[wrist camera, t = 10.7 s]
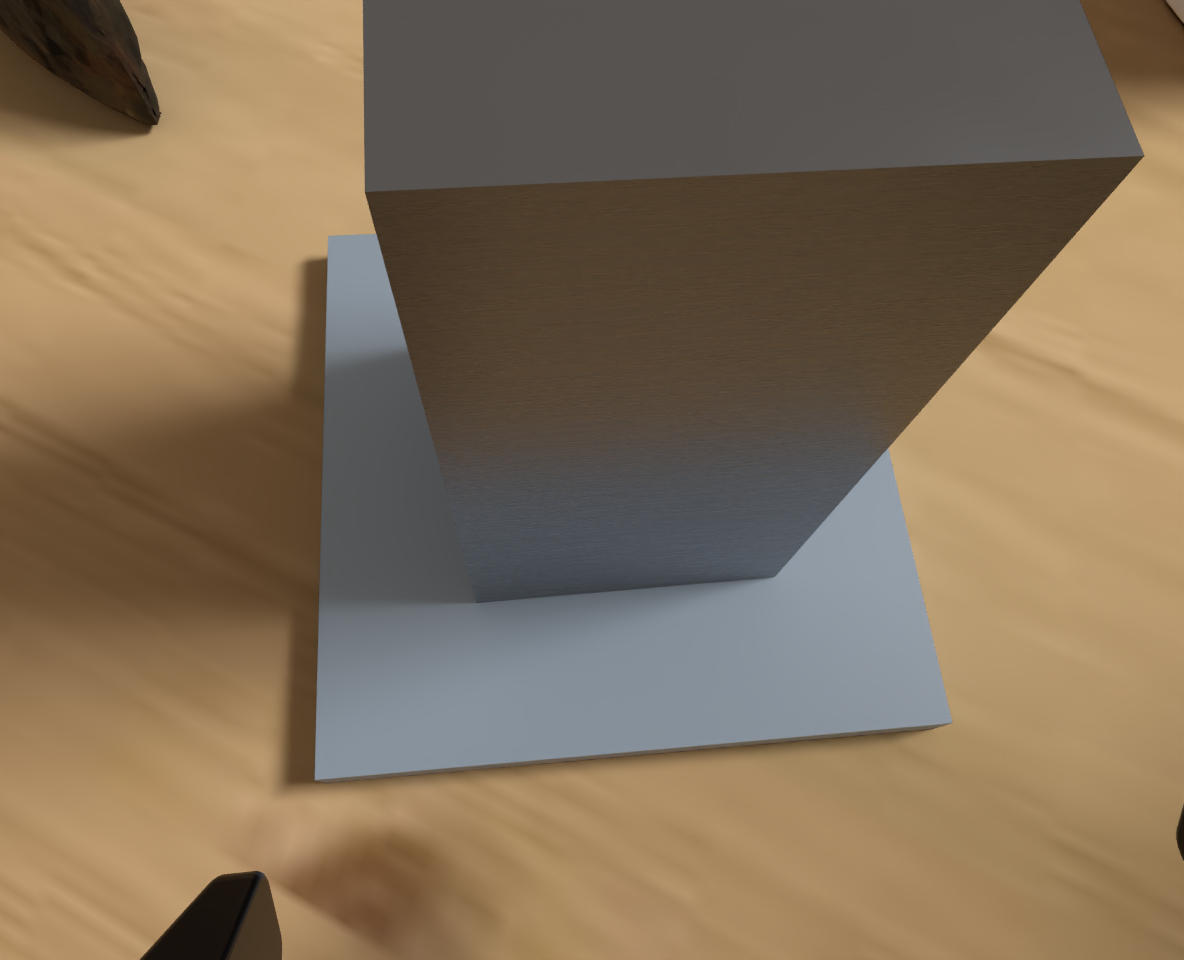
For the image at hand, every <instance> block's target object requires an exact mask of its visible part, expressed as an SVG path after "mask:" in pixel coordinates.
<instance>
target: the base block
mask: <svg viewBox="0 0 1184 960" xmlns="http://www.w3.org/2000/svg"><path fill="white" fill-rule="evenodd" d="M951 723H952V719H951V714H950V710H949V706H948V702H947V697H946V693H945V689H944V684H943V680H942V676H941V672H940V667H939V663H938V659H937V655H936V650H935V646H934V642H933V638H932V633H931V629H930V625H929V620H928V616H927V612H926V608H925V603H924V599H923V595H922V591H921V586H920V582H919V578H918V574H917V569H916V565H915V561H914V556H913V552H912V548H911V544H910V539H909V535H908V531H907V527H906V522H905V518H904V514H903V510H902V505H901V501H900V497H899V492H898V488H897V484H896V480H895V475H894V471H893V467H892V463H891V458H890V454H889V450H888V449H887V450H886V451H885V452H884V453H883V454H882V456H881V457H880V458H879V459H878V460H877V461H876V462H875V464H874V465H873V466H872V467H871V468H870V469H869V470H868V472H867V473H866V474H865V475H864V476H863V477H862V478H861V480H860V481H859V482H858V483H857V484H856V485H855V486H854V488H853V489H852V490H851V491H850V492H849V493H848V494H847V495H846V497H845V498H844V499H843V500H842V501H841V502H840V503H839V505H838V506H837V507H836V508H835V509H834V510H833V511H832V513H831V514H830V515H829V516H828V517H827V518H826V519H825V521H824V522H823V523H822V524H821V525H820V526H819V527H818V529H817V530H816V531H815V532H814V533H813V534H812V535H811V537H810V538H809V539H808V540H807V541H806V542H805V543H804V545H803V546H802V547H801V548H800V549H799V550H798V551H797V553H796V554H795V555H794V556H793V557H792V558H791V559H790V561H789V562H788V563H787V564H786V565H785V566H784V567H783V568H782V570H781V571H780V572H779V573H778V574H777V575H776V576H775V577H773V578H761V579H750V580H738V581H726V582H715V583H703V584H692V585H680V586H668V587H657V588H645V589H633V590H622V591H610V592H599V593H587V594H575V595H564V596H552V597H541V598H529V599H517V600H506V601H494V602H482V603H477V602H476V599H475V595H474V591H473V588H472V584H471V580H470V577H469V573H468V569H467V566H466V562H465V558H464V555H463V551H462V547H461V544H460V540H459V536H458V533H457V529H456V525H455V522H454V518H453V514H452V510H451V507H450V503H449V499H448V496H447V492H446V488H445V485H444V481H443V477H442V474H441V470H440V466H439V463H438V459H437V455H436V452H435V448H434V444H433V441H432V437H431V433H430V430H429V426H428V422H427V418H426V415H425V411H424V407H423V404H422V400H421V396H420V393H419V389H418V385H417V382H416V378H415V374H414V371H413V367H412V363H411V360H410V356H409V352H408V349H407V345H406V341H405V338H404V334H403V330H402V326H401V323H400V319H399V315H398V312H397V308H396V304H395V301H394V297H393V293H392V290H391V286H390V282H389V279H388V275H387V271H386V268H385V264H384V260H383V257H382V253H381V249H380V246H379V242H378V238H377V234H365V235H341V236H328V268H327V308H326V348H325V388H324V428H323V467H322V507H321V547H320V587H319V627H318V667H317V707H316V746H315V780H316V781H320V782H323V783H332V782H344V781H355V780H366V779H377V778H388V777H399V776H411V775H422V774H433V773H444V772H455V771H466V770H478V769H489V768H500V767H511V766H522V765H533V764H545V763H556V762H567V761H578V760H589V759H600V758H612V757H623V756H634V755H645V754H656V753H667V752H679V751H690V750H701V749H712V748H723V747H735V746H746V745H757V744H768V743H779V742H790V741H802V740H813V739H824V738H835V737H846V736H857V735H869V734H880V733H891V732H902V731H913V730H924V729H935V728H938V727H941V726H945V725H948V724H951Z"/></svg>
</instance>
